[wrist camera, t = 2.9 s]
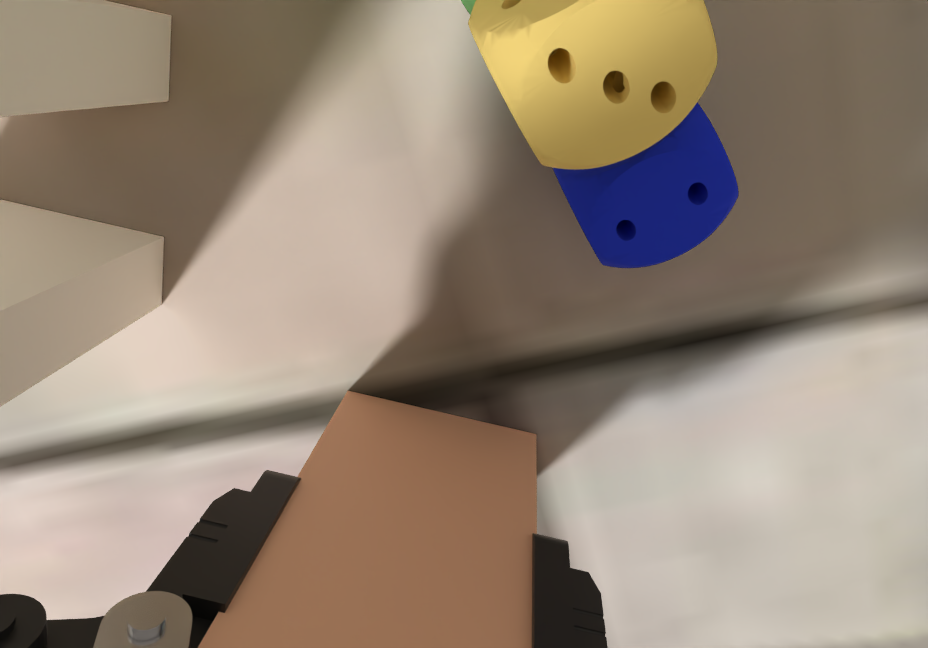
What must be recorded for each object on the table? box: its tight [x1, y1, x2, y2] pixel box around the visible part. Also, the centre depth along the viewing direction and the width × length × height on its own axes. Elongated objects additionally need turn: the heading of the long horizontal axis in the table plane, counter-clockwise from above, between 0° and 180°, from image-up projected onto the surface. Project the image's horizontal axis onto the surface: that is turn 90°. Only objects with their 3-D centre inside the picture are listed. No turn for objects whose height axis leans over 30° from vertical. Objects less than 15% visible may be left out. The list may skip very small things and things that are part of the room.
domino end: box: [198, 391, 537, 648], centre depth 12 cm, size 2×5×11 cm, turn 79°
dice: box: [461, 0, 738, 268], centre depth 11 cm, size 8×3×6 cm, turn 30°
